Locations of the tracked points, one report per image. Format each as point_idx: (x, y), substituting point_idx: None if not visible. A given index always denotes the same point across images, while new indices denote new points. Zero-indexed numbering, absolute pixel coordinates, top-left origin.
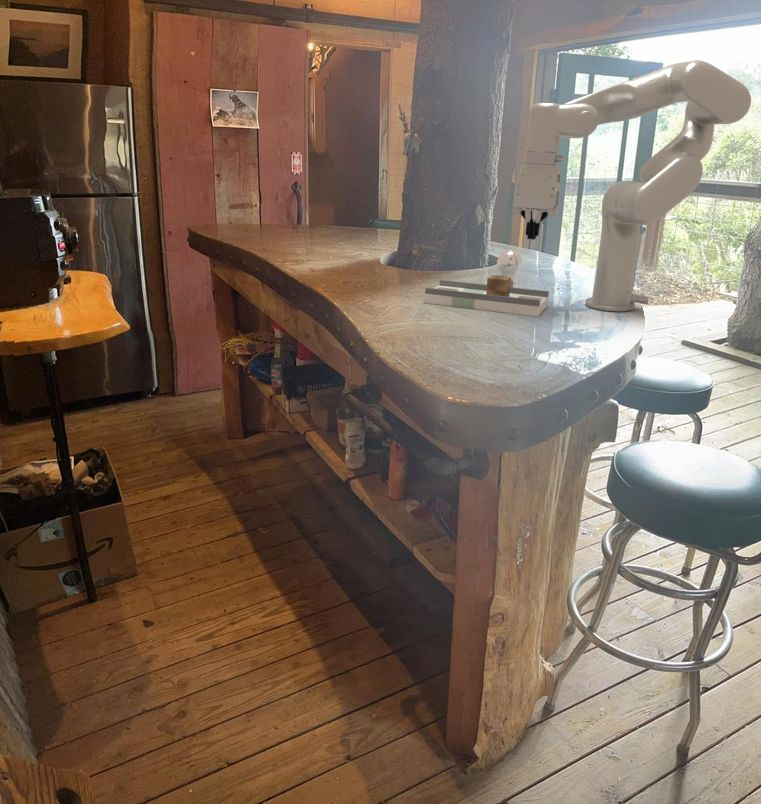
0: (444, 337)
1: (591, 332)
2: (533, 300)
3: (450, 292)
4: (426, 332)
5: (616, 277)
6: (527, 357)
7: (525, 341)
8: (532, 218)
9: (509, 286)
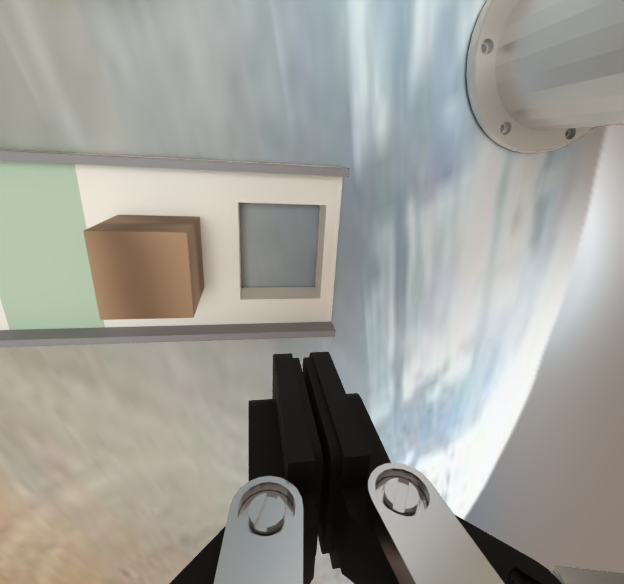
0: (173, 550)
1: (452, 386)
2: (314, 336)
3: None
4: (122, 545)
5: None
6: None
7: None
8: (302, 513)
9: (194, 239)
